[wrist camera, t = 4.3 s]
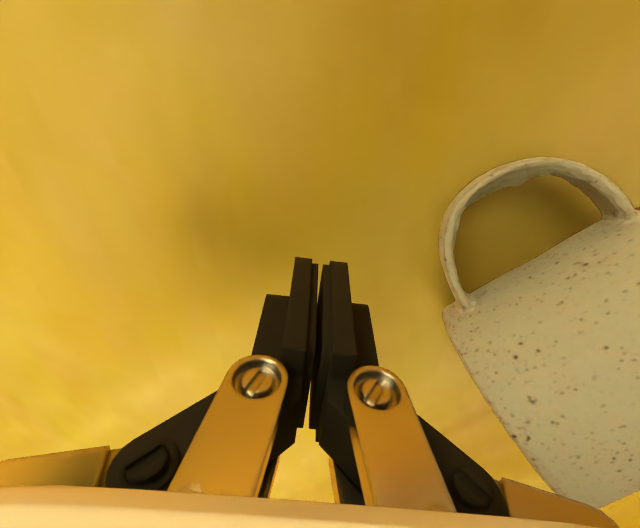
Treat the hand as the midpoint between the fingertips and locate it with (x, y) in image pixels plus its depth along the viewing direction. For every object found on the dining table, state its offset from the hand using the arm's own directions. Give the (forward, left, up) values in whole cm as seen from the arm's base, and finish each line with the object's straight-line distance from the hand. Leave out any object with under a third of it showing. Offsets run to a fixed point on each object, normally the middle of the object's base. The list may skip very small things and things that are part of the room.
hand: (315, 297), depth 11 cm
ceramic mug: (-6, +7, -4) cm, 10 cm away
